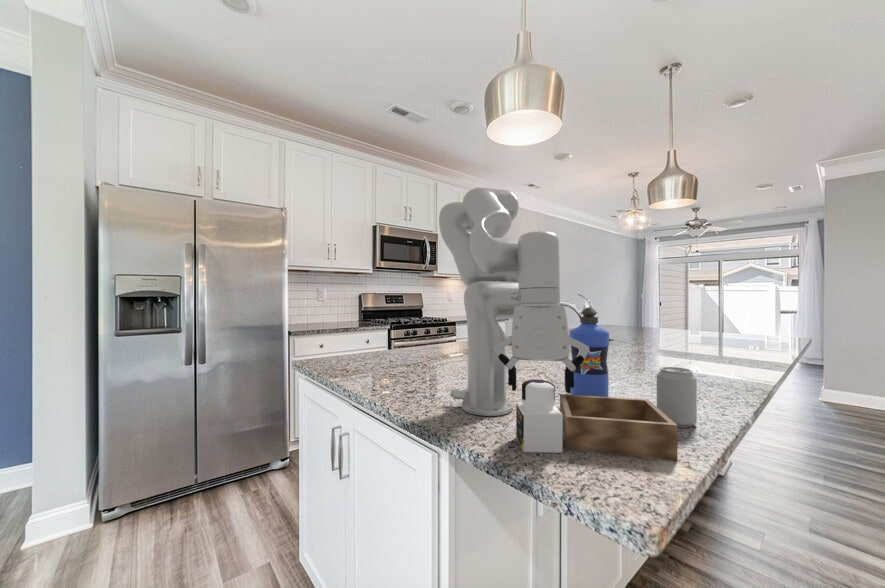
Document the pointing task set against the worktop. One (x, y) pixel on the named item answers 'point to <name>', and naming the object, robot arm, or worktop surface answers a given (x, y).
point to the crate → (617, 427)
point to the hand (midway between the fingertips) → (540, 390)
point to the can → (677, 395)
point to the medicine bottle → (538, 418)
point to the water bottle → (591, 357)
